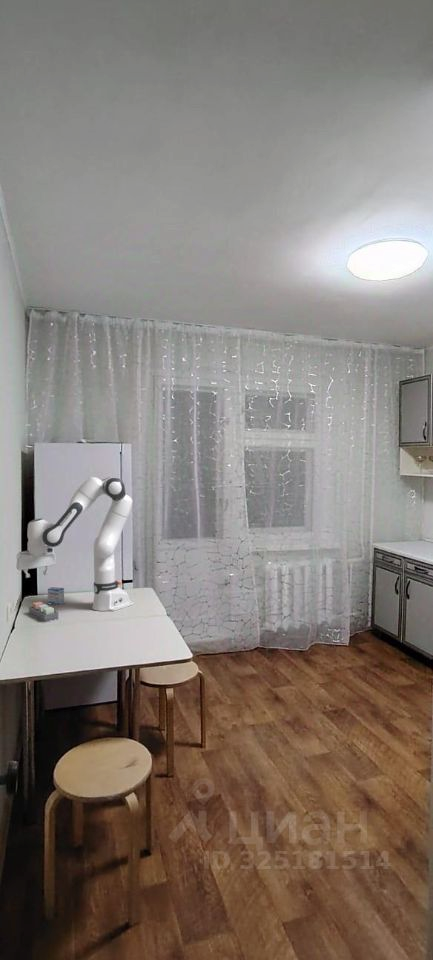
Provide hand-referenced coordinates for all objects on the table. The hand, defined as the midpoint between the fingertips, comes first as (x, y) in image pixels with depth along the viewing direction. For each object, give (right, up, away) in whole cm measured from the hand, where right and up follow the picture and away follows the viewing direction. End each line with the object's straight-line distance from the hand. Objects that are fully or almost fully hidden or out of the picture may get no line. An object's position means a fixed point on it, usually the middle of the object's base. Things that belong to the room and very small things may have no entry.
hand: (36, 576), depth 261 cm
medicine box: (+4, -20, +20) cm, 28 cm away
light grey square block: (+5, -18, -4) cm, 19 cm away
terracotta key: (0, -18, +1) cm, 18 cm away
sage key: (+9, -18, -8) cm, 22 cm away
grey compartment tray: (+5, -20, -3) cm, 21 cm away
